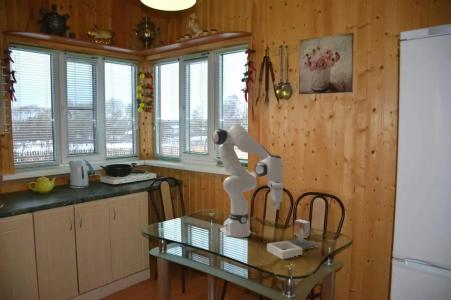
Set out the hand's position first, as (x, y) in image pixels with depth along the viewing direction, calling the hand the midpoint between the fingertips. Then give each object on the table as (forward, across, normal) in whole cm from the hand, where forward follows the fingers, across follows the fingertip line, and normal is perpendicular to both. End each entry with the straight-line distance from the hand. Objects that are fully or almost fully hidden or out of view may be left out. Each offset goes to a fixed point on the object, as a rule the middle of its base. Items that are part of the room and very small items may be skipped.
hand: (276, 207), depth 195 cm
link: (+25, +2, +3) cm, 26 cm away
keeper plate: (+25, -11, +16) cm, 32 cm away
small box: (+25, -28, +20) cm, 43 cm away
